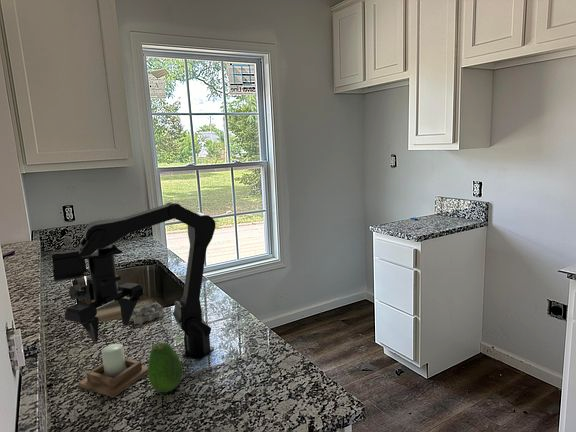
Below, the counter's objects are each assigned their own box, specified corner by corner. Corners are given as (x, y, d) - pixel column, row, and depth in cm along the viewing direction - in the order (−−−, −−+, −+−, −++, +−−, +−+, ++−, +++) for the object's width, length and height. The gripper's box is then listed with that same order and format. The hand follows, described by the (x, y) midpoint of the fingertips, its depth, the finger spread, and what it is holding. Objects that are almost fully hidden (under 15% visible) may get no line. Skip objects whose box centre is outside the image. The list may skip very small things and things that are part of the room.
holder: (151, 370, 102) (149, 360, 102) (113, 397, 92) (112, 386, 91) (117, 361, 108) (116, 351, 107) (78, 386, 97) (76, 375, 96)
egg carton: (135, 326, 129) (133, 315, 129) (127, 319, 135) (126, 308, 134) (166, 316, 136) (165, 305, 135) (158, 310, 142) (156, 299, 141)
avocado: (144, 390, 94) (139, 344, 92) (174, 376, 99) (169, 332, 97) (160, 405, 88) (154, 356, 86) (191, 389, 94) (186, 342, 92)
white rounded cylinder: (131, 371, 101) (127, 345, 100) (114, 382, 96) (111, 355, 95) (116, 367, 103) (113, 342, 102) (100, 377, 98) (96, 351, 97)
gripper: (110, 260, 107) (117, 314, 110) (44, 282, 90) (54, 345, 93) (141, 263, 102) (147, 319, 105) (77, 288, 86) (86, 354, 88)
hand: (111, 333), depth 98 cm, fingers open, 9 cm apart
